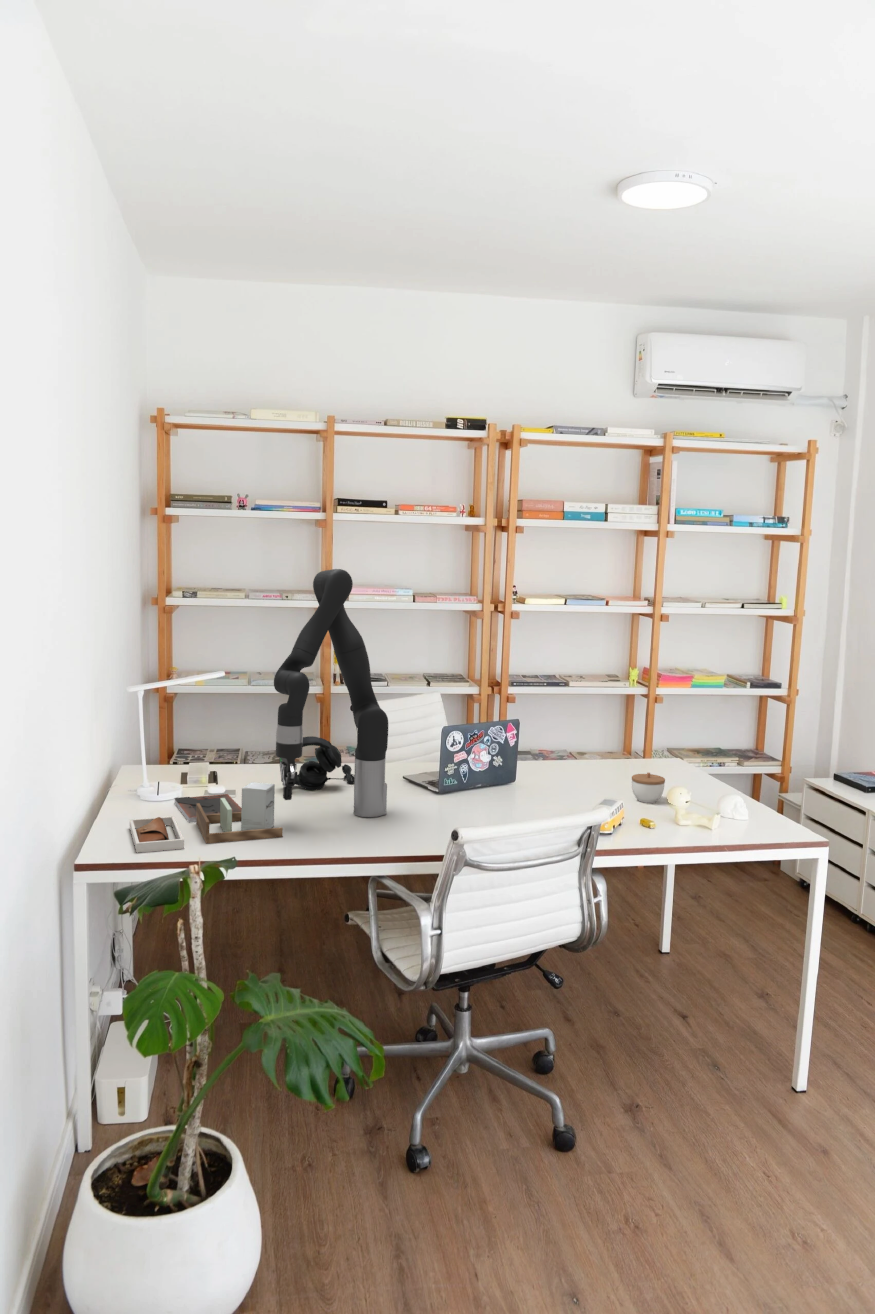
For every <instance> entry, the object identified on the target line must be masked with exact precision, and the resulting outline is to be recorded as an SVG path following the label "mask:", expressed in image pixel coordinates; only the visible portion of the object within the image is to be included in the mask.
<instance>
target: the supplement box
mask: <svg viewBox="0 0 875 1314" xmlns="http://www.w3.org/2000/svg"><path fill="white" fill-rule="evenodd" d="M275 786H276V785H275V783H270V782H269V783H267V782H255V781H251V782H249V783H248V784H246V785H245V786H243V787H242V788H241V808H242V811H241V821H240V822H241V823H240V824H241V825H240V829H241V830H240V831H244V830H256V829H269V828H274V826H275Z"/></svg>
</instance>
